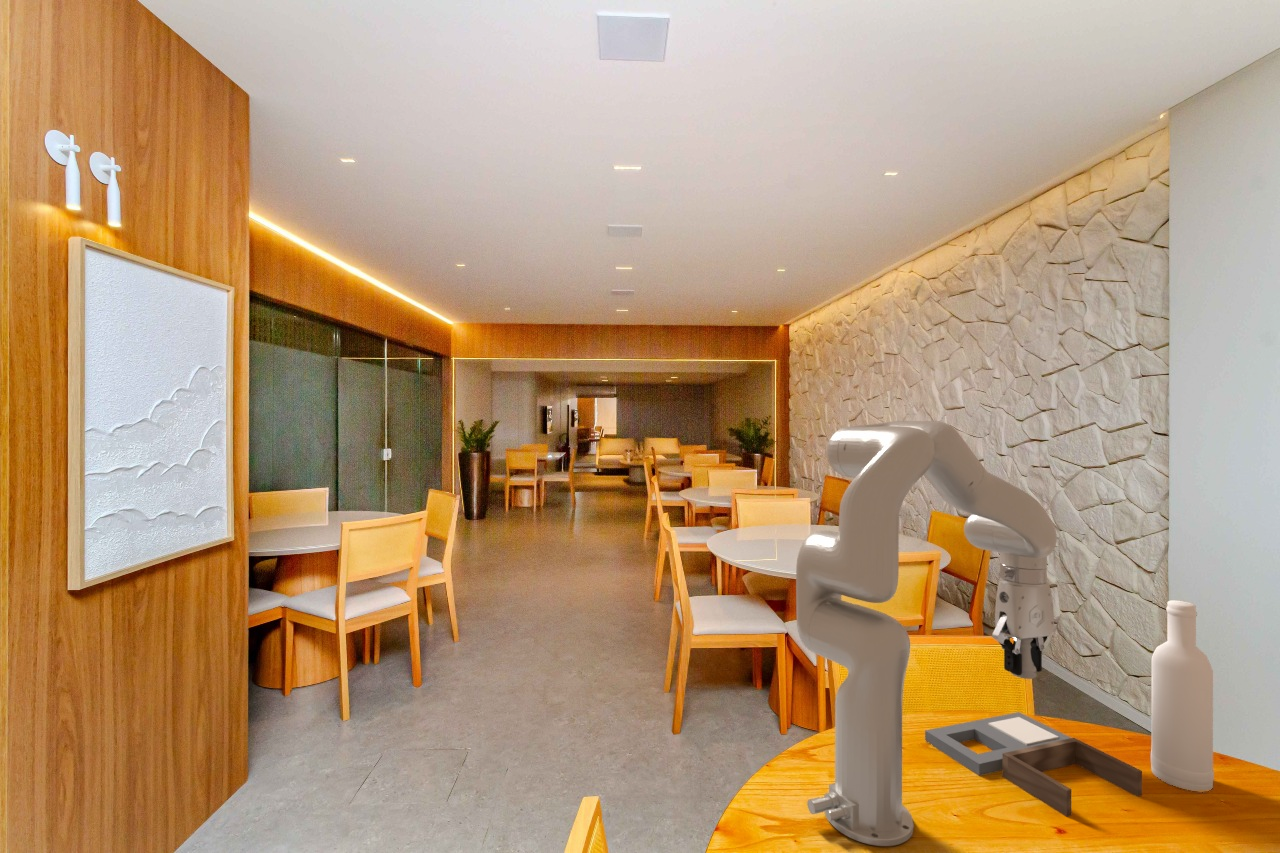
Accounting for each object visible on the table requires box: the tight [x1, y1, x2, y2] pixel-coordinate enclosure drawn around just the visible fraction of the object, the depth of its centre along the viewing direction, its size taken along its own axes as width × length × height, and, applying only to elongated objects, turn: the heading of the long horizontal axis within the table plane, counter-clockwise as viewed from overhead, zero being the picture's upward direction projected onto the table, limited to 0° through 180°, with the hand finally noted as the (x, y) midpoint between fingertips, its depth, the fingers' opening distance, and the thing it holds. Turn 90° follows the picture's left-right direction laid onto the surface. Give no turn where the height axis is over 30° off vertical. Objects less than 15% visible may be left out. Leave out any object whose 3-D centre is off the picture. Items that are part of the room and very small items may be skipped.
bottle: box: [1150, 599, 1215, 792], centre depth 101 cm, size 8×8×30 cm
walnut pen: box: [1001, 737, 1143, 817], centre depth 99 cm, size 17×11×4 cm, turn 109°
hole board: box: [924, 711, 1072, 776], centre depth 112 cm, size 24×12×2 cm, turn 109°
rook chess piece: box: [1011, 638, 1038, 680], centre depth 113 cm, size 4×4×8 cm
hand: (1022, 669), depth 113 cm, fingers closed on rook chess piece, 4 cm apart
